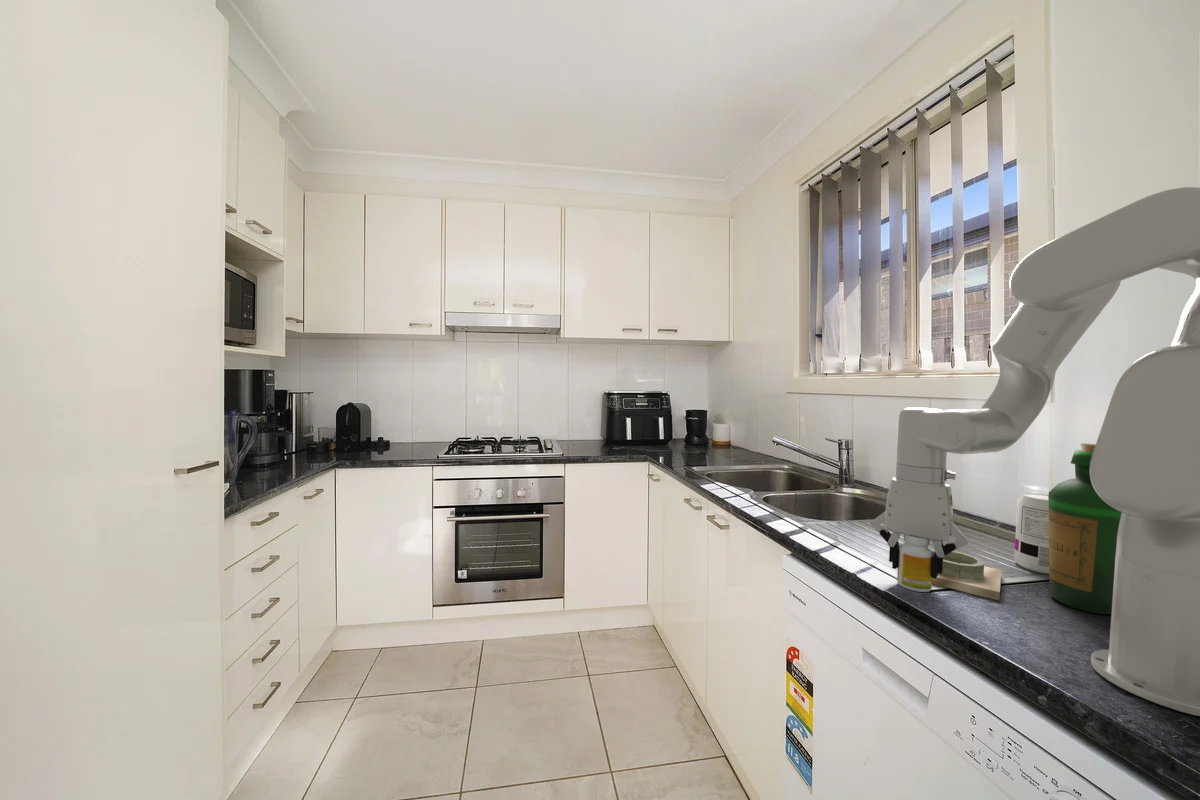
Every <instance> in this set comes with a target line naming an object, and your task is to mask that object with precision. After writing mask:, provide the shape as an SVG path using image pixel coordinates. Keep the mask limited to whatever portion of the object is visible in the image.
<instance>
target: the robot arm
mask: <svg viewBox="0 0 1200 800" xmlns="http://www.w3.org/2000/svg"><path fill="white" fill-rule="evenodd" d="M1157 268H1158V269H1161V270H1167V271H1170V272H1175V273H1179V274H1184V275H1188V276H1190V277H1192V278H1193V279H1194V280H1195V289H1194V291H1193V293H1192V295H1191V296H1190V298H1189V299H1188V301H1187V303H1185V305H1184V308H1183V310H1182V313H1181V315H1180V318H1179V322H1178V325H1177V329H1176V331H1175V333H1174V336H1173V339H1172V342H1171V344H1170V346H1166V347H1162V348H1158V349H1155V350H1153V351H1151V352H1148V353H1146V354H1144V355H1142V357H1141V356H1140V357H1139V358H1138V359H1137V360H1135V361H1134V362H1132V364H1130V365H1129V366H1128V368H1127V369H1126V370H1125V372H1123V373H1122V375H1121V377H1120V378H1119V380H1118V381H1117V384H1116V386H1115V389H1114V390H1113V393H1112V396H1111V398H1110V402H1109V405H1108V408H1107V410H1106V414H1105V417H1104V420H1103V423H1102V425H1101V427H1100V431H1099V434H1098V437H1097V439H1096V443H1095V444H1096V445H1095V448H1094V452H1093V455H1092V458H1091V463H1090V480H1091V483H1092V486H1093V488H1094V489H1095V491H1096V493H1097V494H1098V495H1099V497H1100V498H1101V499H1102V500H1103V501H1104V502H1106V503H1107V504H1108V505H1109V506H1111V507H1112V508H1114V509H1116V510H1118V511H1120V512H1122V514H1121V518H1120V522H1119V527H1118V534H1117V544H1116V556H1115V571H1114V585H1113V599H1112V614H1110V615H1111V616H1110V627H1109V628H1110V630H1109V647H1108V649H1100V650H1095V651H1094V652H1092V653H1091V656H1090V665H1091V666H1092V668H1093V670H1095V671H1096V672H1097V673H1098V674H1099V675H1100V676H1101V677H1103V678H1104V679H1105V680H1107V681H1108V682H1110V683H1112V684H1113V685H1115V686H1117V687H1119V688H1120V689H1122V690H1124V691H1126V692H1128V693H1131V694H1133V695H1135V696H1137V697H1139V698H1142V699H1144V700H1147V701H1150V702H1152V703H1153V704H1154V703H1155V704H1158V705H1160V706H1162V707H1165V708H1169V709H1172V710H1174V711H1178V712H1181V713H1184V714H1187V715H1188V714H1189V715H1193V716H1196V717H1200V187H1199V186H1198V187H1194V186H1192V187H1191V186H1190V187H1187V186H1184V187H1177V188H1172V189H1167V190H1162V191H1160V192H1155V193H1153V194H1151V195H1148V196H1145V197H1142V198H1141V199H1138V200H1136V201H1134V202H1131V203H1130V204H1127V205H1125V206H1122V207H1120V208H1118V209H1116V210H1115V211H1112V212H1110V213H1108V214H1106V215H1104V216H1102V217H1100V218H1097V219H1096V220H1093V221H1091V222H1088V223H1087V224H1084V225H1082V226H1080V227H1078V228H1076V229H1073V230H1072V231H1070V232H1067V233H1066V234H1063V235H1061V236H1059V237H1057V238H1055V239H1052V240H1050V241H1049V242H1047V243H1045V244H1044V245H1041V246H1039V247H1038V248H1036V249H1035V250H1033V251H1031V252H1030V253H1029V254H1027V255H1026V256H1025V257H1023V258H1022V259H1021V261H1020V262H1018V263H1017V264H1016V266H1015V268H1014V269H1013V271H1012V272H1011V276H1010V279H1009V289H1010V292H1011V294H1012V296H1013V297H1014V298H1015V299H1016V300H1017V301H1018V302H1019V303H1020V304H1019V306H1018V307H1017V309H1016V310H1015V311H1014V313H1013V314H1012V316H1011V317H1010V318H1009V320H1008V322H1007V323H1006V325H1005V326H1004V327H1003V329H1002V330H1001V332H1000V333H999V335H998V336H997V338H996V339H995V340H994V342H993V343H992V348H991V349H992V352H993V355H994V357H995V359H996V361H997V364H998V367H999V376H998V377H999V378H998V380H997V383H996V386H995V388H993V391H992V392H991V394H990V396H989V397H988V398H987V399H986V401H985V402H984V403H983V404H982V406H981V407H980V408H966V409H965V408H961V409H958V408H957V409H956V408H955V409H945V410H943V409H940V408H934V407H933V408H931V407H905V408H903V409H901V411H900V412H899V415H898V430H897V431H898V432H897V446H896V447H897V450H896V471H895V476H894V477H892V478H891V481H890V484H889V487H888V491H887V497H886V503H885V504H886V505H885V511H883V512H882V513H881V514H879V515H878V516H877V517H875V518H874V519H873V520H872V521H871V522H870V525H871V527H872V528H873V529H874V530H875V531H876V532H878V533H879V535H880V536H881V538H882V539H884V541H885V542H886V543H887V545H888V547H889V555H888V562H890V563H891V564H892V566H891V568H892V569H894V570H896V569H898V554H899V546H900V542H899V540H900V537H901V536H902V535H904V534H905V535H910V536H915V537H920V538H925V539H930V541H931V543H932V546H933V549H935V552H934V555H933V557H932V573H931V577H933V578H934V579H936V578H937V576H938V573H939V574H942V571H943V557H944V556H945V555H947V554H949V553H950V552H952V551H956V550H957V549H959V548H962V547H964V546H966V545H968V544H969V539H968V537H967V536H966V535H965V534H964V533H963V532H962V530H960V528H959V527H958V526H957V525H956V524H955V523H954V521H953V517H954V515H953V514H954V511H953V510H954V509H953V493H952V489H951V485H950V484H948V483H946V482H948V481H950V480H953V481H955V480H956V477H957V476H956V472H952V471H950V470H949V469H947V457H948V456H947V454H948V453H950V454H954V455H955V454H956V455H974V454H984V453H985V454H986V453H987V454H988V453H999V452H1003V451H1004V450H1006V449H1008V448H1010V447H1012V446H1013V445H1014V444H1016V442H1017V441H1018V440H1019V439H1020V438H1021V437H1022V436H1023V435H1024V434H1025V433H1026V431H1027V430H1028V429H1029V428H1030V426H1031V425H1032V424H1033V423H1034V422H1035V420H1036V419H1037V417H1038V416H1039V415H1040V414H1041V412H1042V410H1043V409H1044V407H1045V405H1046V403H1047V401H1048V399H1049V396H1050V393H1051V391H1052V388H1053V385H1054V382H1055V378H1056V373H1057V371H1058V369H1059V368H1060V365H1061V364H1062V363H1063V361H1065V359H1066V358H1067V356H1068V355H1069V354H1070V352H1071V351H1072V350H1073V348H1074V347H1075V345H1076V344H1077V343H1078V342H1079V340H1080V339H1081V338H1082V337H1083V335H1084V334H1085V333H1086V332H1087V330H1088V329H1089V328H1090V327H1091V326H1092V324H1093V323H1094V322H1095V321H1096V319H1097V318H1098V317H1099V315H1100V314H1101V313H1102V311H1103V310H1104V309H1105V307H1106V306H1107V305H1108V304H1109V303H1110V301H1111V300H1112V299H1113V297H1114V296H1115V294H1116V292H1117V291H1118V290H1119V288H1120V285H1121V281H1124V280H1127V279H1129V278H1133V277H1135V276H1137V275H1140V274H1143V273H1146V272H1148V271H1151V270H1155V269H1157ZM883 523H884V525H883ZM950 536H953V537H954V538H955V539H954V540H952V541H949V542H947V543H946V544H944V541H948V540H949V539H950Z"/></svg>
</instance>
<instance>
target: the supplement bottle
mask: <svg viewBox="0 0 1200 800" xmlns="http://www.w3.org/2000/svg"><path fill="white" fill-rule="evenodd" d="M930 541H931V540H930V539H925V538H920V537H915V536H910V535H905V534H903V543H900V544H899V554H898V568H897V573H896V575H897V576H896V577H897V578H896V581H897V584H898V585H899V586H900V587H902V588H904V589H907V590H910V591H913V592H918V593H929V592H930V591H932V590H933V584H932V577H931V573H932V557H933V555H934V553H933V551H932V549H933V548H930V547H929V546H930Z"/></svg>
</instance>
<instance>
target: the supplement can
mask: <svg viewBox="0 0 1200 800" xmlns="http://www.w3.org/2000/svg"><path fill="white" fill-rule="evenodd" d="M1016 507H1017V508H1016V520H1015V521H1016V522H1015V523H1016V524H1015V540H1014V551H1013V553H1014V555H1013V560H1014V561H1015V563H1017V565H1018V566H1020V567H1022V568H1023V569H1024V568H1025V569H1027V570H1029V571H1033V572H1036V573H1042V574H1047V575H1049V502H1048V494H1042V493H1031V492H1028V493H1026V492H1025V493H1022V494H1021V496H1020V497H1019V498H1018V499H1017V506H1016Z"/></svg>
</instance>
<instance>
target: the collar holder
mask: <svg viewBox="0 0 1200 800" xmlns="http://www.w3.org/2000/svg"><path fill="white" fill-rule="evenodd" d="M931 549H932V551H933V553H934V552H935V549H934V548H931ZM1001 580H1002V569H998V568H995V567H990V566H987V565H986V566H985V561H984V560H982V559H981V558H979V557H976V556H974V555H971V554H968V553H965V552H962V551H961V552H960V551H957V550H954V551H952V552H950V553H949V554H947V555H945V556H944V557H943V571H942V574H939V573H938V576H937V578H936V579H934V578H933V577H932V585H936V586H939V587H944V588H947V589H951V590H956V591H960V592H962V593H967V594H972V595H976V596H979V597H983V598H988V599H992V600H995V601H1000V598H1001V597H1000V593H1001V582H1002V581H1001Z"/></svg>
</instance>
